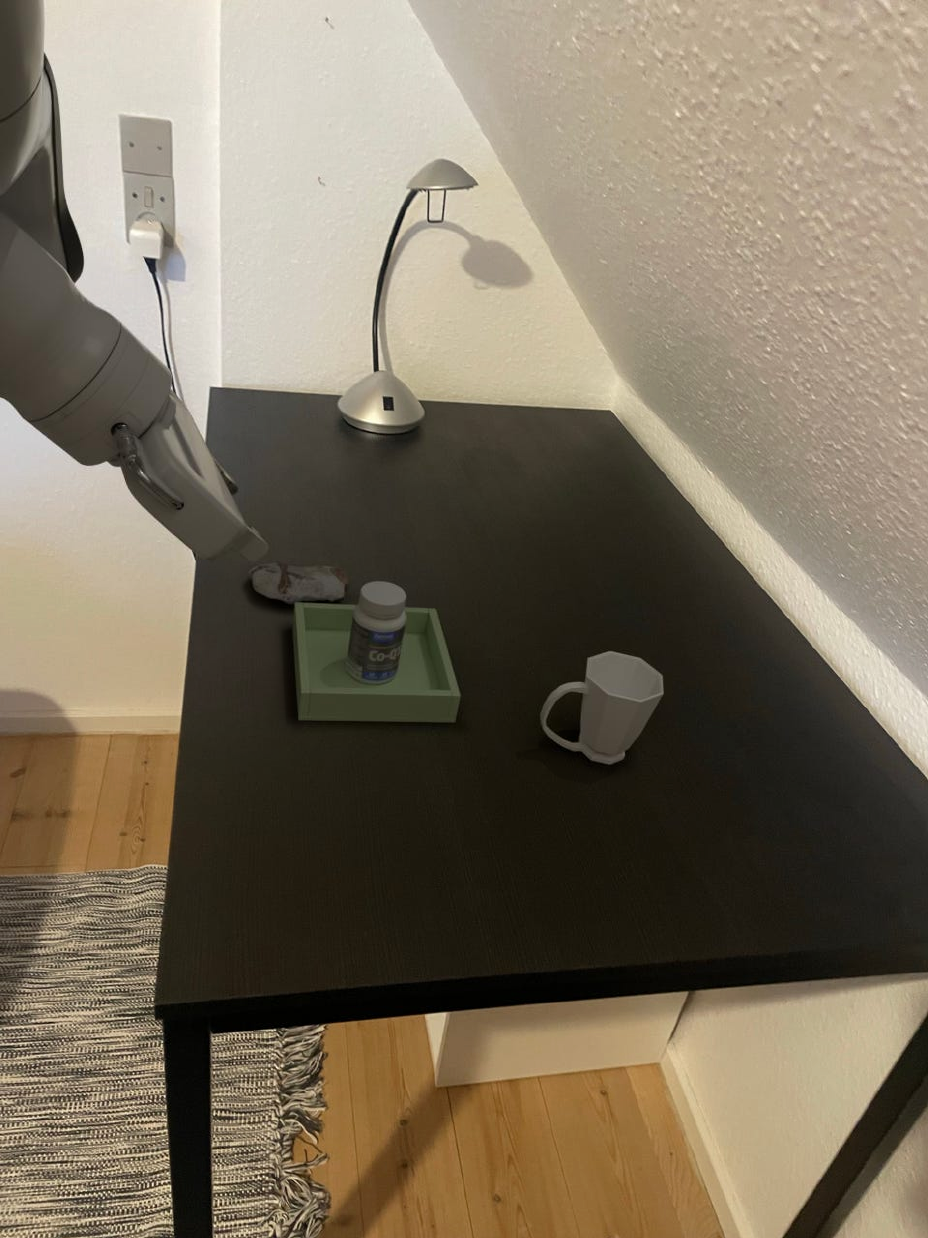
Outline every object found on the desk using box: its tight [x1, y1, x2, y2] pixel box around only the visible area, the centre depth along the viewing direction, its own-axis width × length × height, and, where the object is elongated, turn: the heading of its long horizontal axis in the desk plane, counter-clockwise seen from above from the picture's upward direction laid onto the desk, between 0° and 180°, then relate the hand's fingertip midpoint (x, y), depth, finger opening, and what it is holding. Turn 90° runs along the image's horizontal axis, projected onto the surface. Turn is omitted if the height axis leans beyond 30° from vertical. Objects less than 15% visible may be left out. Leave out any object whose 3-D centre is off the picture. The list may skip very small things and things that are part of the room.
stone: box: [248, 561, 349, 605], centre depth 95 cm, size 10×7×3 cm
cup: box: [539, 650, 664, 766], centre depth 81 cm, size 7×10×8 cm
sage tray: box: [291, 602, 462, 723], centre depth 86 cm, size 14×14×3 cm
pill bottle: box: [346, 580, 407, 684], centre depth 84 cm, size 5×5×8 cm
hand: (244, 520), depth 72 cm, fingers open, 8 cm apart
